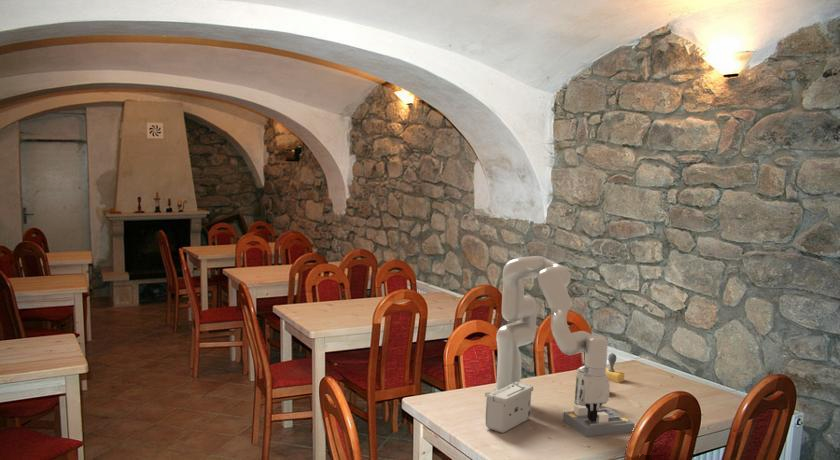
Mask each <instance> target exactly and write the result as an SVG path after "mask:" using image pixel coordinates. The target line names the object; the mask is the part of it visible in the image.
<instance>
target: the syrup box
mask: <svg viewBox="0 0 840 460" xmlns="http://www.w3.org/2000/svg"><path fill="white" fill-rule="evenodd" d="M584 366H585V365H583V366H580V367H579V368H577V369H576V379H575V391H574V403H575V404H577V405H580V404H579V402H580V399H579V389H580V382H581V378H582V374H583V373H584V372H582V368H584Z"/></svg>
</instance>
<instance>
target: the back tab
mask: <svg viewBox="0 0 840 460" xmlns="http://www.w3.org/2000/svg"><path fill="white" fill-rule="evenodd" d="M573 411H574V414H576V415H577V416H580V415H587V414H588V409H587V408H586V406H582V405H580V404H577V405H574V406H573Z"/></svg>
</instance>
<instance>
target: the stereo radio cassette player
mask: <svg viewBox="0 0 840 460" xmlns="http://www.w3.org/2000/svg"><path fill="white" fill-rule="evenodd" d="M505 380H507V379H506V378H505ZM507 381H509V380H507ZM509 382H511V381H509ZM511 383H513V382H511ZM533 391H534V385H530V384H528V383H523V382H521V381H520V382H515V383H513V384H511V385H508V386H506V387H504V388H502V389H500V390H497V391H495V392H493V393H490V394H488V395H487V397H486V401H485V402H486V404H485V426H486V428H488V429H489V430H492V431H495V432H499V433H501V434H504V433H506V432H507V431H509V430H511V429H512V428H514V427H516V426H519V425H521V424H522V423H524V422H525V421H527V420H530V416H531V402H532V392H533Z"/></svg>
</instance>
